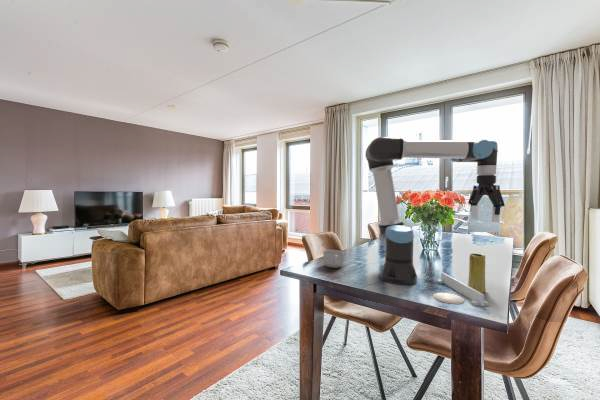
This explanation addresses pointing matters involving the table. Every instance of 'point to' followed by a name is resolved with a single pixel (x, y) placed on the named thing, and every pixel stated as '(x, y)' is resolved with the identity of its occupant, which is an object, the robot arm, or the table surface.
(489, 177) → the robot arm
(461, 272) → the table surface
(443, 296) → the coaster
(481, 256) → the vase
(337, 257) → the teacup
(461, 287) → the acrylic wall
